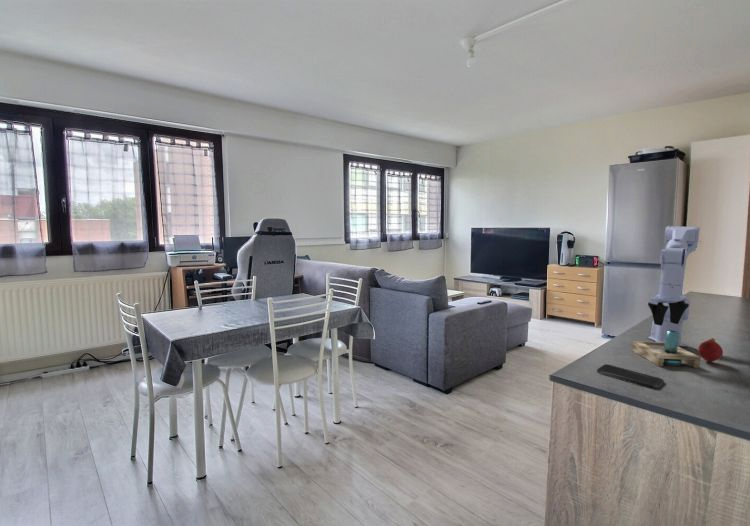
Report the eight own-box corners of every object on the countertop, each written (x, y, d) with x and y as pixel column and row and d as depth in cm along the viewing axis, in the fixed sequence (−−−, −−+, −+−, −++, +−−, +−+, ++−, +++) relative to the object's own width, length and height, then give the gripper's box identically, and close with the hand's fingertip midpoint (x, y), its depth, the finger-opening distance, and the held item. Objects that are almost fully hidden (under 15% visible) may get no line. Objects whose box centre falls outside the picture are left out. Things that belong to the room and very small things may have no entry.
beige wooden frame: (631, 350, 134) (632, 341, 133) (668, 352, 133) (669, 342, 132) (658, 366, 120) (659, 355, 119) (699, 367, 119) (700, 357, 118)
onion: (712, 366, 120) (715, 341, 120) (692, 359, 126) (695, 335, 125) (725, 364, 122) (728, 340, 121) (705, 358, 128) (708, 334, 127)
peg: (653, 360, 125) (656, 330, 124) (664, 357, 127) (668, 328, 126) (673, 367, 119) (677, 335, 118) (685, 364, 122) (689, 333, 121)
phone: (657, 387, 103) (596, 369, 114) (656, 391, 103) (595, 373, 114) (665, 379, 108) (605, 363, 119) (664, 383, 108) (605, 367, 119)
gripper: (673, 281, 134) (669, 319, 136) (642, 282, 130) (638, 322, 131) (695, 284, 128) (691, 325, 129) (664, 286, 123) (659, 328, 125)
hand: (666, 324), depth 130 cm, fingers open, 7 cm apart
